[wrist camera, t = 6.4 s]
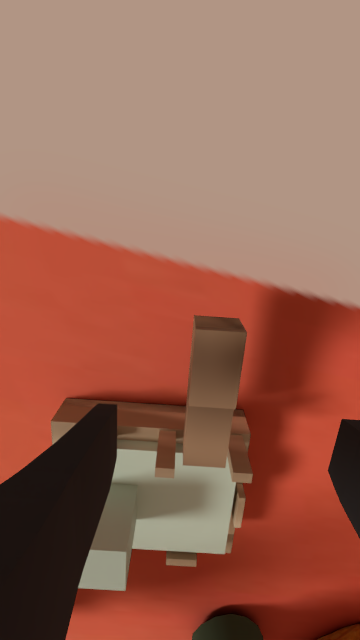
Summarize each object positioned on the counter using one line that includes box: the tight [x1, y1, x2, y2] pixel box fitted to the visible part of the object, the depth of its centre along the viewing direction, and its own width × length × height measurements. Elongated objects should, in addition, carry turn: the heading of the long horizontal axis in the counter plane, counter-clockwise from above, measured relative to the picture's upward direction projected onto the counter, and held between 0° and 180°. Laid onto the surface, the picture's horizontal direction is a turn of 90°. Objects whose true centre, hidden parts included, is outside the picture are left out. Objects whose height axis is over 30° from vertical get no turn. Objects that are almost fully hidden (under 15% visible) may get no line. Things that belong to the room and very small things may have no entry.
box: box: [51, 398, 253, 567], centre depth 20 cm, size 10×12×6 cm
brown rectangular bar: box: [183, 315, 247, 468], centre depth 15 cm, size 8×2×2 cm, turn 176°
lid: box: [78, 439, 236, 591], centre depth 18 cm, size 8×11×5 cm
